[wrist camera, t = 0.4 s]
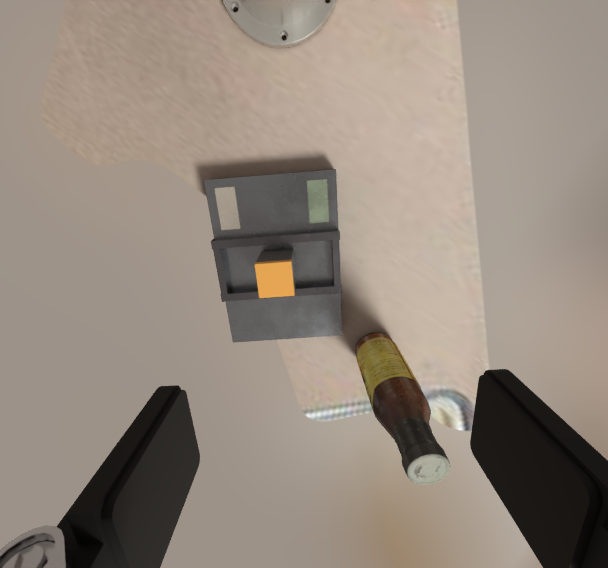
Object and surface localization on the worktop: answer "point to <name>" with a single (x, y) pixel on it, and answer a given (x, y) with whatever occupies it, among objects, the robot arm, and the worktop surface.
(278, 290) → the toggle
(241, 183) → the panel
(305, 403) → the worktop surface
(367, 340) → the sauce bottle
